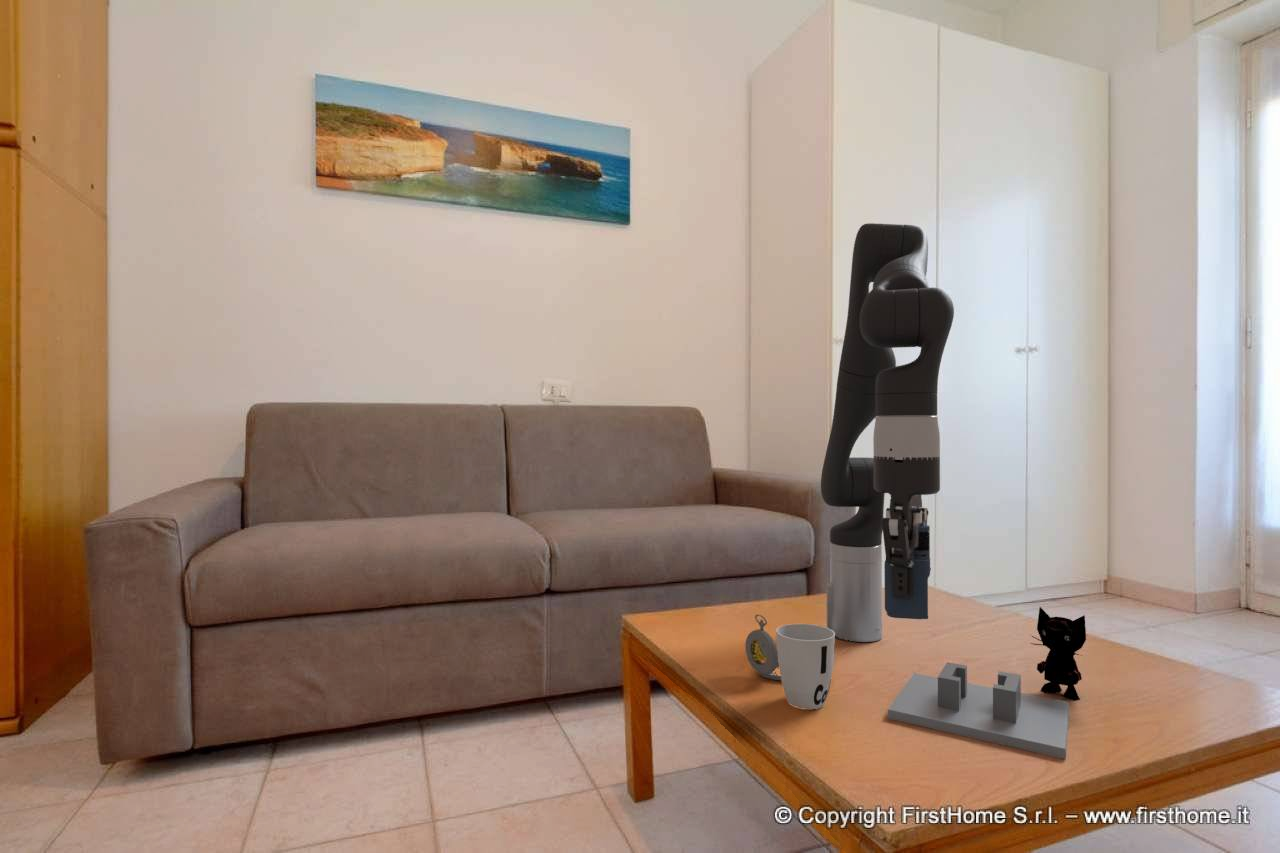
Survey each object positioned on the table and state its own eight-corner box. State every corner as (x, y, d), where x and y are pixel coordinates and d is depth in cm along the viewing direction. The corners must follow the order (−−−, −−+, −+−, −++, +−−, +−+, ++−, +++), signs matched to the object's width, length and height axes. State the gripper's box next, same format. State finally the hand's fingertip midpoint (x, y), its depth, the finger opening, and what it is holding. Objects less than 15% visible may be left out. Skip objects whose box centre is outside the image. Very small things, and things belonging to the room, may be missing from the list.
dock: (887, 718, 89) (887, 679, 89) (914, 680, 103) (913, 646, 103) (1065, 759, 78) (1065, 714, 78) (1069, 711, 91) (1068, 672, 91)
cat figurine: (1025, 690, 98) (1025, 609, 99) (1045, 680, 103) (1045, 602, 103) (1080, 706, 93) (1079, 620, 93) (1098, 694, 97) (1098, 611, 97)
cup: (825, 719, 89) (825, 644, 89) (767, 706, 93) (767, 634, 93) (842, 698, 96) (842, 628, 96) (787, 687, 100) (787, 620, 100)
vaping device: (932, 620, 80) (932, 520, 80) (886, 617, 81) (885, 518, 81) (928, 614, 82) (928, 516, 82) (883, 612, 83) (882, 515, 83)
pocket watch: (803, 671, 107) (803, 608, 107) (792, 689, 99) (792, 622, 99) (753, 663, 110) (753, 602, 110) (739, 681, 103) (738, 615, 103)
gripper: (888, 451, 89) (889, 580, 89) (858, 455, 78) (858, 603, 78) (949, 452, 85) (950, 587, 85) (927, 456, 73) (927, 613, 74)
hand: (906, 594), depth 81 cm, fingers closed on vaping device, 3 cm apart
